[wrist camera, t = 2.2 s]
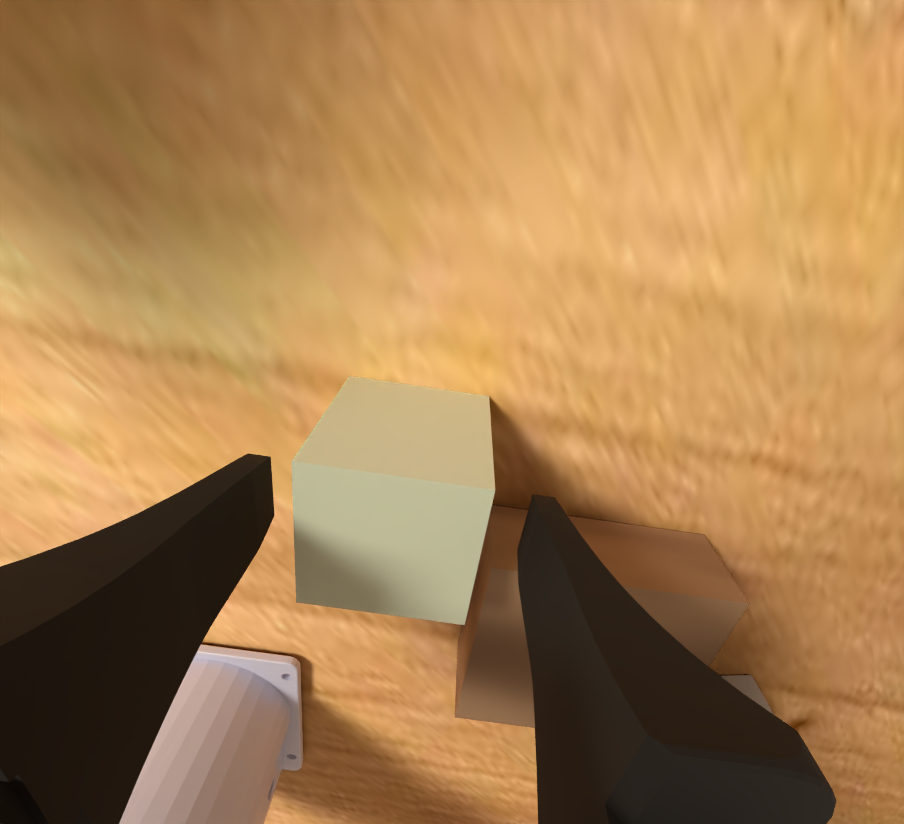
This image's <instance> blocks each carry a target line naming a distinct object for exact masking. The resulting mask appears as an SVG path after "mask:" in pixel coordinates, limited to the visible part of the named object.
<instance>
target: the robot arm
mask: <svg viewBox="0 0 904 824" xmlns="http://www.w3.org/2000/svg"><path fill="white" fill-rule="evenodd" d="M273 517H274V503H273V487H272V471H271V457H268V456H261V455H254V454H247V455H245V456H243V457H241V458H239V459H237V460H235V461H234V462H232V463H230V464H228V465H227V466H225V467H223V468H221V469H220V470H218V471H216V472H214V473H213V474H211V475H209V476H207V477H206V478H204V479H202V480H200V481H198V482H197V483H195V484H193V485H191V486H190V487H188V488H186V489H184V490H182V491H181V492H179V493H177V494H175V495H173V496H171V497H169V498H167V499H165V500H163V501H161V502H159V503H157V504H155V505H154V506H152V507H150V508H148V509H146V510H144V511H142V512H140V513H138V514H136V515H134V516H131V517H129V518H127V519H125V520H123V521H121V522H118V523H116V524H114V525H112V526H109V527H107V528H105V529H102V530H100V531H98V532H95V533H93V534H90V535H88V536H85V537H83V538H81V539H78V540H75V541H72V542H70V543H67V544H64V545H62V546H59V547H56V548H53V549H51V550H48V551H45V552H42V553H40V554H37V555H34V556H31V557H29V558H26V559H23V560H20V561H17V562H13V563H10V564H7V565H4V566H1V567H0V824H264V821H265V818H266V815H267V812H268V810H269V807H270V804H271V801H272V798H273V795H274V792H275V789H276V786H277V783H278V780H279V777H280V774H281V771H282V770H290V771H297V770H299V769H301V767H302V763H303V732H302V700H301V669H300V662H299V661H298V660H297V659H296V658H294V657H291V656H285V655H277V654H270V653H262V652H255V651H247V650H240V649H232V648H225V647H217V646H209V645H202V644H201V643H202V641H203V639H204V637H205V636H206V634H207V632H208V630H209V629H210V627H211V625H212V623H213V622H214V620H215V619H216V617H217V615H218V614H219V612H220V611H221V609H222V607H223V606H224V604H225V603H226V601H227V600H228V598H229V596H230V595H231V593H232V592H233V590H234V588H235V587H236V585H237V584H238V582H239V580H240V579H241V577H242V576H243V574H244V572H245V571H246V569H247V568H248V566H249V564H250V563H251V561H252V560H253V558H254V556H255V555H256V553H257V551H258V550H259V548H260V546H261V544H262V542H263V540H264V537H265V535H266V533H267V531H268V529H269V526H270V524H271V522H272V519H273ZM517 562H518V586H519V594H520V600H521V607H522V614H523V620H524V627H525V633H526V640H527V646H528V653H529V659H530V666H531V675H532V684H533V701H534V718H535V739H536V762H537V793H538V824H826V823H827V822H828V821H829V820H830V819H831V817H832V815H833V812H834V808H835V804H836V798H835V796H834V793H833V790H832V788H831V787H830V785H829V783H828V782H827V780H826V778H825V777H824V775H823V773H822V771H821V770H820V768H819V766H818V765H817V763H816V761H815V760H814V758H813V756H812V755H811V753H810V751H809V749H808V748H807V746H806V744H805V743H804V741H803V740H802V738H801V736H800V735H799V733H798V732H797V731H796V730H795V729H793V728H792V727H791V726H789V725H788V724H786V723H785V722H783V721H782V720H781V719H779V718H778V717H776V716H775V715H773V714H772V713H770V712H769V711H768V710H766V709H765V708H763V707H762V706H760V705H759V704H758V703H756V702H755V701H753V700H752V699H750V698H749V697H748V696H746V695H745V694H743V693H742V692H741V691H739V690H738V689H737V688H735V687H734V686H733V685H731V684H730V683H729V682H728V681H726V680H725V679H724V678H722V677H721V676H720V675H718V674H717V673H716V672H715V671H713V670H712V669H711V668H709V667H708V666H707V665H706V664H705V663H703V662H702V661H701V660H700V659H698V658H697V657H696V656H695V655H694V654H692V653H691V652H690V651H689V650H688V649H687V648H685V647H684V646H683V645H682V644H681V643H680V642H679V641H678V640H676V639H675V638H674V637H673V636H672V635H671V634H670V633H669V632H667V631H666V630H665V629H664V628H663V627H662V626H661V625H660V624H659V623H658V622H657V621H656V620H655V619H653V618H652V617H651V616H650V615H649V614H648V613H647V612H646V610H645V609H644V608H643V607H642V606H641V605H640V604H639V603H638V602H637V601H636V600H635V599H634V598H633V597H632V596H631V595H630V594H629V593H628V592H627V591H626V590H625V589H624V588H623V586H622V585H621V584H620V583H619V582H618V581H617V580H616V578H615V577H614V576H613V575H612V574H611V573H610V571H609V570H608V569H607V568H606V567H605V565H604V564H603V563H602V562H601V561H600V559H599V558H598V557H597V556H596V554H595V553H594V552H593V550H592V549H591V548H590V546H589V545H588V544H587V542H586V541H585V540H584V538H583V537H582V536H581V534H580V533H579V531H578V530H577V529H576V527H575V526H574V524H573V523H572V522H571V520H570V519H569V517H568V516H567V514H566V513H565V512H564V510H563V509H562V507H561V506H560V504H559V503H558V502H557V500H556V499H555V498H554V497H547V496H540V495H532V499H531V502H530V506H529V509H528V513H527V517H526V520H525V524H524V527H523V531H522V534H521V538H520V542H519V545H518V549H517Z"/></svg>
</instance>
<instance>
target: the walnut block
mask: <svg viewBox="0 0 904 824" xmlns="http://www.w3.org/2000/svg"><path fill="white" fill-rule="evenodd" d="M527 513H528V510H524V509H517V508H510V507H503V506H496V505H492V507H491V511H490V516H489V520H488V524H487V529H486V533H485V538H484V542H483V546H482V551H481V555H480V560H479V564H478V568H477V573H476V577H475V582H474V586H473V590H472V595H471V599H470V604H469V608H468V612H467V617H466V621H465V625H462V628H461V633H460V637H459V641H458V649H457V675H456V700H455V717H456V718H464V719H471V720H479V721H487V722H494V723H502V724H510V725H517V726H525V727H532V728H535V718H534V701H533V684H532V675H531V666H530V659H529V653H528V646H527V640H526V633H525V627H524V620H523V614H522V607H521V600H520V594H519V586H518V562H517V549H518V545H519V542H520V538H521V534H522V531H523V527H524V524H525V520H526V517H527ZM568 517H569V519H570V520H571V522H572V523H573V524H574V526H575V527H576V529H577V530H578V531H579V533H580V534H581V536H582V537H583V538H584V540H585V541H586V542H587V544H588V545H589V546H590V548H591V549H592V550H593V552H594V553H595V554H596V556H597V557H598V558H599V559H600V561H601V562H602V563H603V564H604V565H605V567H606V568H607V569H608V570H609V571H610V573H611V574H612V575H613V576H614V577H615V578H616V580H617V581H618V582H619V583H620V584H621V585H622V586H623V588H624V589H625V590H626V591H627V592H628V593H629V594H630V595H631V596H632V597H633V598H634V599H635V600H636V601H637V602H638V603H639V604H640V605H641V606H642V607H643V608H644V609H645V610H646V612H647V613H648V614H649V615H650V616H651V617H652V618H653V619H655V620H656V621H657V622H658V623H659V624H660V625H661V626H662V627H663V628H664V629H665V630H666V631H667V632H669V633H670V634H671V635H672V636H673V637H674V638H675V639H676V640H678V641H679V642H680V643H681V644H682V645H683V646H684V647H685V648H687V649H688V650H689V651H690V652H691V653H692V654H694V655H695V656H696V657H697V658H698V659H700V660H701V661H702V662H703V663H705V664H706V665H707V666H708V667H709V665H710V664H711V662H712V661H713V659H714V658H715V656H716V655H717V653H718V652H719V650H720V649H721V647H722V645H723V644H724V642H725V641H726V639H727V638H728V636H729V635H730V633H731V632H732V630H733V629H734V627H735V625H736V624H737V622H738V621H739V619H740V618H741V616H742V615H743V613H744V612H745V610H746V609H747V607H748V605H749V604H750V603H749V602H748V600H747V599H746V597H745V596H744V594H743V593H742V591H741V590H740V588H739V586H738V585H737V583H736V582H735V580H734V579H733V577H732V576H731V574H730V573H729V571H728V570H727V568H726V567H725V565H724V564H723V562H722V561H721V559H720V558H719V556H718V555H717V553H716V552H715V550H714V549H713V547H712V546H711V544H710V543H709V541H708V540H707V538H706V537H705V535H702V534H694V533H687V532H680V531H673V530H666V529H659V528H652V527H645V526H638V525H631V524H624V523H617V522H609V521H602V520H595V519H588V518H581V517H574V516H568Z"/></svg>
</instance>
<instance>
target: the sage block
mask: <svg viewBox="0 0 904 824" xmlns="http://www.w3.org/2000/svg"><path fill="white" fill-rule="evenodd" d="M292 489H293V518H294V547H295V576H296V602H298V603H305V604H312V605H320V606H327V607H334V608H342V609H349V610H356V611H364V612H371V613H379V614H386V615H393V616H401V617H408V618H415V619H423V620H430V621H437V622H445V623H452V624H459V625H465V621H466V617H467V612H468V608H469V604H470V599H471V595H472V590H473V586H474V582H475V577H476V573H477V568H478V564H479V560H480V555H481V551H482V546H483V542H484V538H485V533H486V529H487V524H488V520H489V516H490V511H491V507H492V502H493V498H494V494H495V478H494V463H493V447H492V432H491V417H490V401H489V396H485V395H478V394H472V393H465V392H458V391H451V390H444V389H437V388H431V387H424V386H417V385H410V384H403V383H396V382H390V381H383V380H376V379H369V378H362V377H355V376H349V377H348V379H347V380H346V382H345V383H344V384H343V386H342V387H341V389H340V390H339V392H338V393H337V395H336V396H335V398H334V399H333V401H332V402H331V404H330V405H329V407H328V408H327V410H326V411H325V413H324V414H323V415H322V417H321V418H320V420H319V421H318V423H317V424H316V426H315V427H314V429H313V430H312V432H311V433H310V435H309V436H308V438H307V439H306V441H305V442H304V444H303V445H302V447H301V448H300V449H299V451H298V452H297V454H296V455H295V457H294V458H293V460H292Z"/></svg>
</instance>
